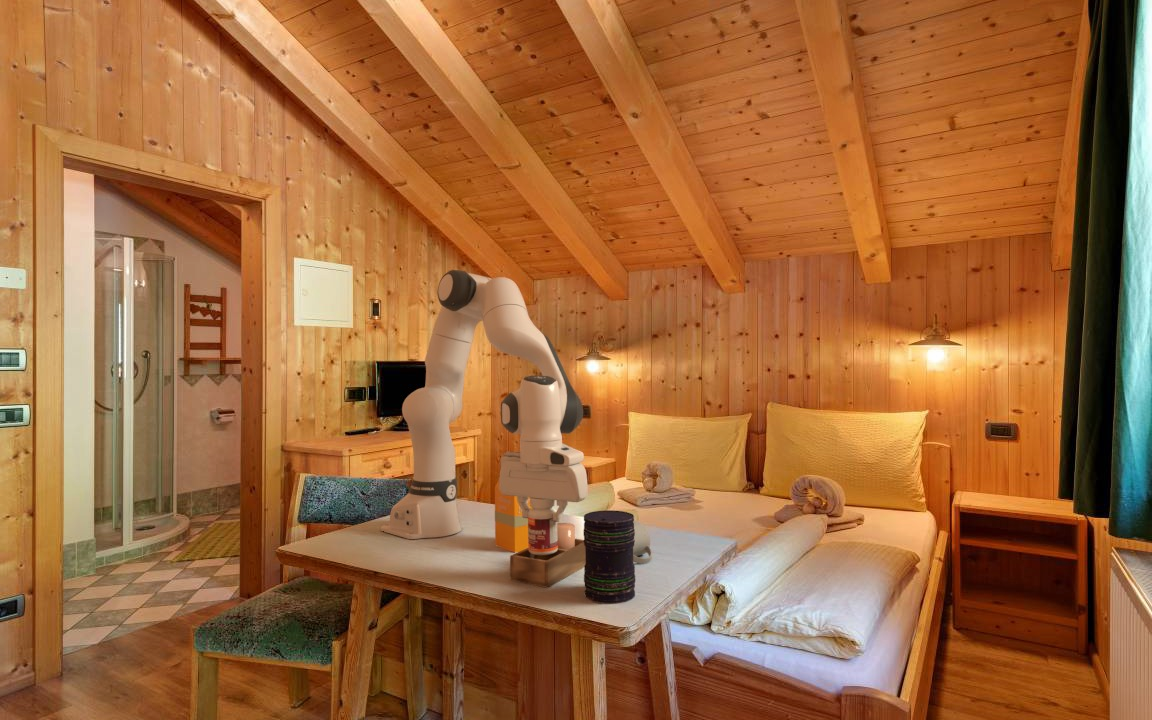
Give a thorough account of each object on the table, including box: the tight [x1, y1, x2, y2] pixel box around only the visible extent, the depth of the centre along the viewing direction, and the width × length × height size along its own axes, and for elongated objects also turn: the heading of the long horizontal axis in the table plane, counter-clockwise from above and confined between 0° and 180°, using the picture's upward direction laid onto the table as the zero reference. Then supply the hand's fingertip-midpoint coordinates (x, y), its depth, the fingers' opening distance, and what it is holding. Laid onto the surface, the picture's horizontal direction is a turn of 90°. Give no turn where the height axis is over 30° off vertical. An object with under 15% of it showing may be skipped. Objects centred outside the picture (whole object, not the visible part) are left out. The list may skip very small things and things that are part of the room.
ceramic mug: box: [633, 520, 653, 565], centre depth 142 cm, size 11×8×8 cm
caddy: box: [509, 538, 586, 588], centre depth 133 cm, size 9×18×5 cm, turn 150°
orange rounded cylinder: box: [557, 522, 576, 550], centre depth 137 cm, size 6×6×8 cm
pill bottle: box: [528, 498, 558, 555], centre depth 130 cm, size 6×6×11 cm
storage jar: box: [583, 509, 636, 605], centre depth 119 cm, size 10×10×15 cm
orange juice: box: [494, 479, 532, 554], centre depth 153 cm, size 8×9×20 cm
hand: (542, 519), depth 130 cm, fingers closed on pill bottle, 6 cm apart
